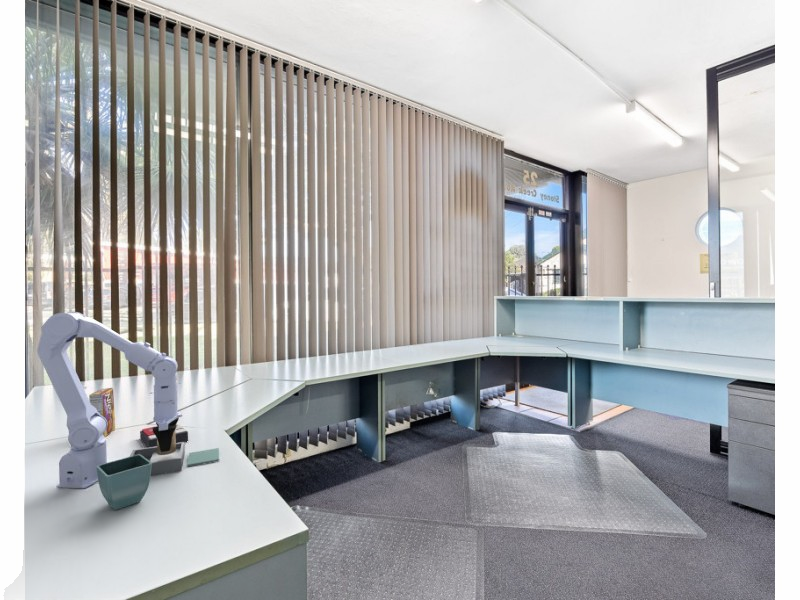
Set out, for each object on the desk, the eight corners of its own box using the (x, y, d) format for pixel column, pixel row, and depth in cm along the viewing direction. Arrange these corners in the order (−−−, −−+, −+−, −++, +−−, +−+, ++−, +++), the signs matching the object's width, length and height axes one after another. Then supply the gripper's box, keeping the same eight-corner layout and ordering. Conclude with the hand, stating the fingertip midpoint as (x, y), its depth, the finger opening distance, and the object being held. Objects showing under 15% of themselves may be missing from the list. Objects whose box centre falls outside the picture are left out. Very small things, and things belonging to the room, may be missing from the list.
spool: (168, 455, 106) (168, 433, 106) (153, 454, 106) (153, 433, 106) (179, 448, 110) (179, 428, 110) (164, 448, 111) (164, 427, 111)
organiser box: (123, 481, 98) (123, 468, 98) (133, 462, 110) (133, 449, 110) (181, 470, 104) (181, 458, 104) (184, 453, 116) (184, 441, 116)
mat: (187, 466, 107) (187, 464, 107) (189, 454, 115) (189, 452, 115) (219, 461, 110) (219, 459, 110) (218, 449, 118) (218, 447, 118)
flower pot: (140, 489, 95) (140, 453, 94) (153, 501, 89) (152, 462, 89) (96, 504, 88) (95, 465, 88) (107, 518, 82) (106, 476, 82)
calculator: (176, 421, 136) (188, 429, 125) (176, 433, 136) (188, 442, 125) (139, 428, 129) (148, 438, 118) (140, 441, 129) (149, 452, 118)
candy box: (101, 430, 137) (100, 388, 137) (115, 429, 138) (114, 387, 138) (89, 439, 128) (88, 394, 128) (104, 438, 130) (103, 393, 129)
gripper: (180, 404, 103) (180, 454, 103) (183, 392, 116) (184, 437, 116) (149, 408, 100) (149, 459, 100) (156, 395, 113) (157, 441, 113)
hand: (166, 447), depth 108 cm, fingers closed on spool, 4 cm apart
